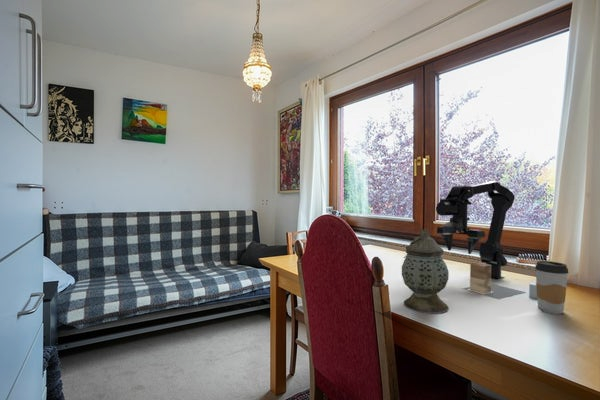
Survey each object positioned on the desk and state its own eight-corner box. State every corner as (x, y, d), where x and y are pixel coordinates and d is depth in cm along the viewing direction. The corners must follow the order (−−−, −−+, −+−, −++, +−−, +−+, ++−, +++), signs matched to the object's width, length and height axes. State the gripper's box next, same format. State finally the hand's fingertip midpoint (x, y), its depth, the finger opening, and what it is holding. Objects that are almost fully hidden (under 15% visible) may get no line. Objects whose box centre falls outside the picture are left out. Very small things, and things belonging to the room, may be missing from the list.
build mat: (488, 283, 129) (488, 282, 129) (526, 293, 116) (526, 292, 116) (461, 289, 120) (461, 288, 120) (498, 300, 108) (499, 299, 108)
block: (532, 295, 114) (532, 281, 114) (549, 298, 111) (549, 284, 111) (529, 298, 111) (529, 284, 111) (546, 301, 107) (547, 287, 107)
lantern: (427, 317, 92) (428, 232, 92) (392, 302, 105) (393, 228, 104) (458, 309, 98) (459, 231, 98) (421, 296, 111) (422, 226, 111)
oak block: (477, 288, 121) (478, 275, 121) (491, 291, 117) (491, 278, 116) (470, 289, 119) (470, 276, 119) (483, 293, 114) (483, 279, 114)
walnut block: (478, 275, 121) (478, 262, 121) (491, 278, 117) (491, 265, 116) (470, 276, 119) (470, 263, 118) (483, 279, 114) (483, 266, 114)
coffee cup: (560, 307, 101) (561, 261, 101) (573, 317, 93) (574, 267, 93) (530, 304, 104) (530, 259, 104) (540, 313, 96) (541, 264, 96)
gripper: (428, 214, 136) (427, 250, 136) (469, 217, 120) (468, 257, 120) (445, 214, 141) (444, 248, 141) (486, 216, 125) (485, 255, 125)
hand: (459, 252), depth 132 cm, fingers open, 9 cm apart
